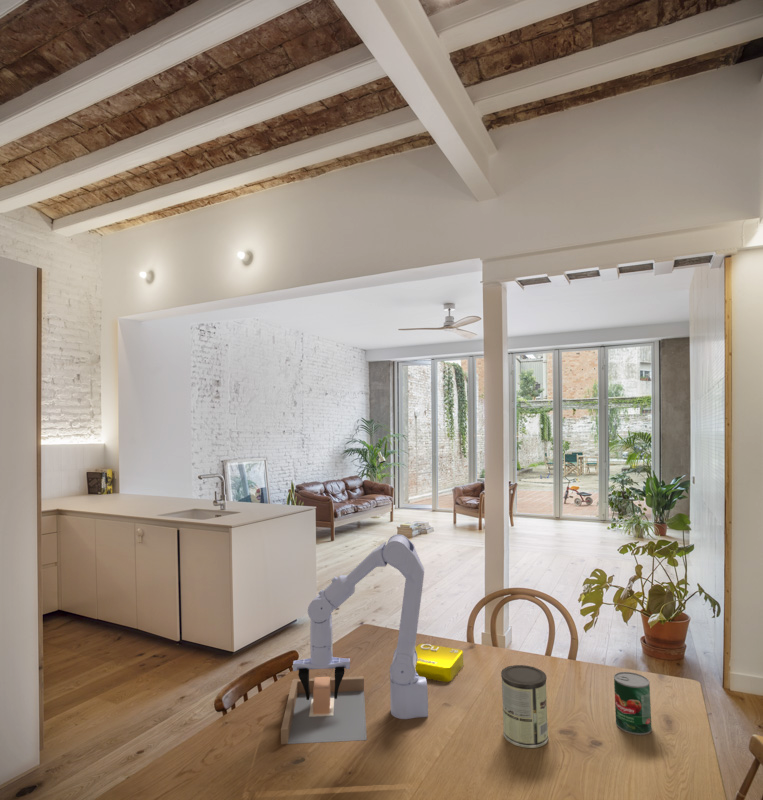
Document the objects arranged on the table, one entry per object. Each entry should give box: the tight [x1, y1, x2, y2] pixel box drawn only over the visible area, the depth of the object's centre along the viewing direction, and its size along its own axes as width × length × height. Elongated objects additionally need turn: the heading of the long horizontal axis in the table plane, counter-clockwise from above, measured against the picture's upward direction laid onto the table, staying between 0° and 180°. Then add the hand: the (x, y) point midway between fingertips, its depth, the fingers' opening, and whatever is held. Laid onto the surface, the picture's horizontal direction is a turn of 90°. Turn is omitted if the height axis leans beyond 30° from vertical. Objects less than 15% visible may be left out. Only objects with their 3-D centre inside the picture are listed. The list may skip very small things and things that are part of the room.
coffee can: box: [500, 664, 549, 749], centre depth 128 cm, size 10×10×14 cm
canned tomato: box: [613, 671, 653, 736], centre depth 132 cm, size 8×8×11 cm
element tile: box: [415, 643, 464, 683], centre depth 165 cm, size 15×15×5 cm
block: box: [313, 676, 331, 714], centre depth 141 cm, size 7×4×6 cm, turn 3°
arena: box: [280, 675, 368, 745], centre depth 138 cm, size 20×26×4 cm
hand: (322, 697), depth 141 cm, fingers open, 6 cm apart
